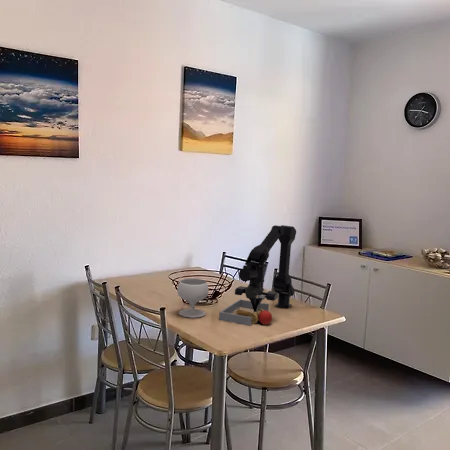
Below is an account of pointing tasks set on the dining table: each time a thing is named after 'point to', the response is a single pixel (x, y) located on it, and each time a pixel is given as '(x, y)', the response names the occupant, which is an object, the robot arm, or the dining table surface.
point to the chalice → (192, 295)
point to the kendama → (257, 316)
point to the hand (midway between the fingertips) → (255, 311)
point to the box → (227, 316)
